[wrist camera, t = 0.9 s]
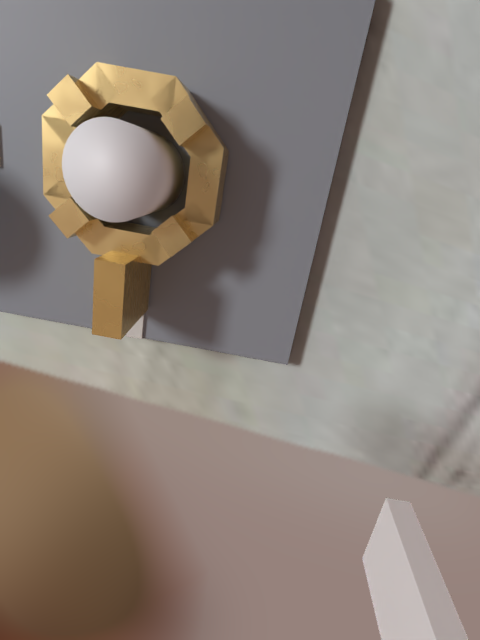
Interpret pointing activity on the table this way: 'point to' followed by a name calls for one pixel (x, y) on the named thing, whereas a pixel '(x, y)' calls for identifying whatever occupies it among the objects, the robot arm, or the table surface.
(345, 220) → the table surface
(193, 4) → the housing plate
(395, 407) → the table surface
